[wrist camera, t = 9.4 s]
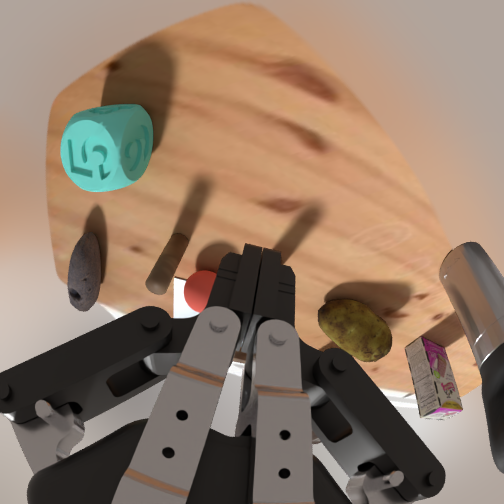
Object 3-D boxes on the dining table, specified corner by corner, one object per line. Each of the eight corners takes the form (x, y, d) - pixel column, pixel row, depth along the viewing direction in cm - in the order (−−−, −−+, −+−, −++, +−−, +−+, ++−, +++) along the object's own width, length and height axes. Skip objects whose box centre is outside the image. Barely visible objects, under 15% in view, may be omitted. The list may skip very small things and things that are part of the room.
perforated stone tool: (85, 218, 36) (59, 244, 31) (112, 231, 38) (88, 260, 32) (82, 279, 45) (64, 305, 40) (104, 291, 46) (88, 318, 41)
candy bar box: (445, 346, 47) (464, 410, 34) (429, 358, 50) (444, 421, 37) (421, 334, 45) (441, 408, 31) (403, 347, 47) (418, 420, 34)
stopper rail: (250, 350, 51) (249, 361, 49) (249, 353, 52) (247, 364, 50) (169, 331, 50) (165, 341, 48) (169, 334, 51) (165, 344, 49)
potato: (354, 277, 38) (364, 319, 31) (392, 317, 42) (402, 355, 36) (310, 304, 42) (312, 347, 35) (353, 338, 46) (358, 376, 40)
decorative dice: (98, 105, 26) (56, 120, 20) (155, 103, 26) (118, 116, 20) (101, 163, 31) (64, 189, 25) (154, 167, 31) (122, 195, 25)
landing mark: (264, 298, 42) (264, 299, 42) (246, 346, 50) (246, 347, 50) (174, 277, 41) (174, 278, 41) (174, 329, 50) (173, 330, 50)
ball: (231, 270, 37) (217, 313, 34) (231, 285, 42) (220, 322, 39) (189, 258, 37) (173, 299, 34) (194, 274, 42) (181, 310, 40)
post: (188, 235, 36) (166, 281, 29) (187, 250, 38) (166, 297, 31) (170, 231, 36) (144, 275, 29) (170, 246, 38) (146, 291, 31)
